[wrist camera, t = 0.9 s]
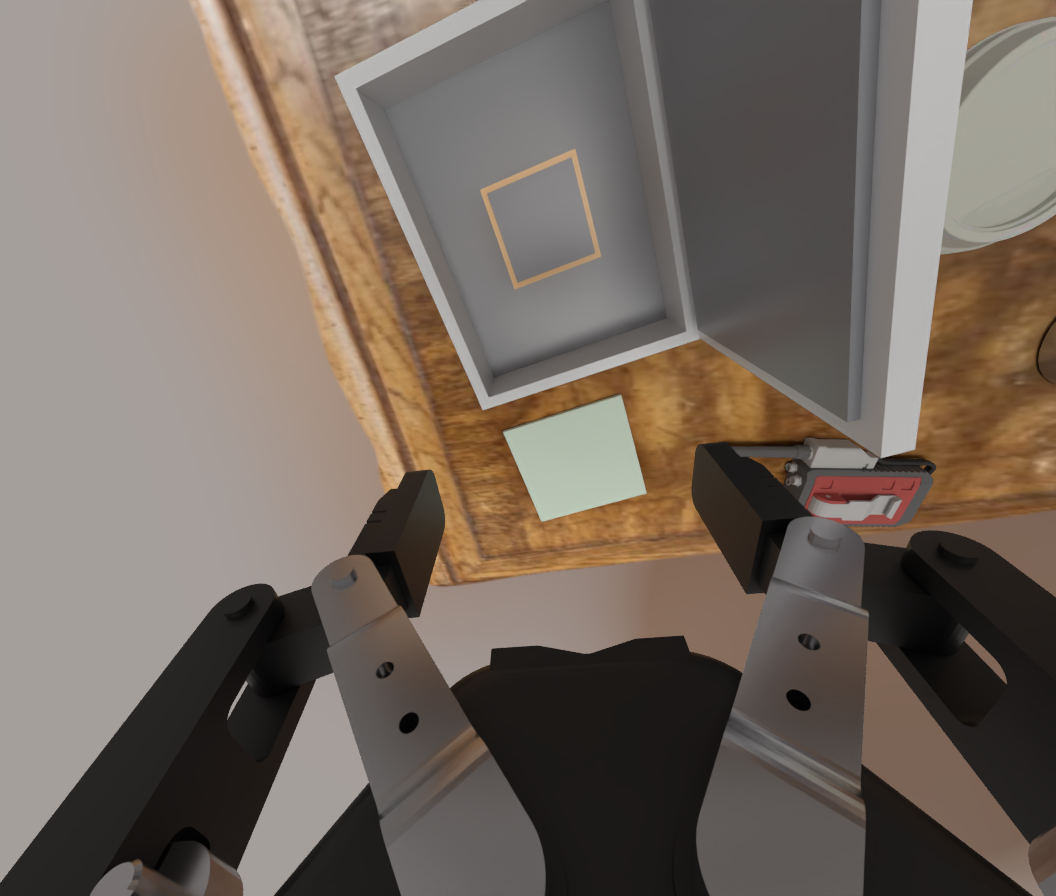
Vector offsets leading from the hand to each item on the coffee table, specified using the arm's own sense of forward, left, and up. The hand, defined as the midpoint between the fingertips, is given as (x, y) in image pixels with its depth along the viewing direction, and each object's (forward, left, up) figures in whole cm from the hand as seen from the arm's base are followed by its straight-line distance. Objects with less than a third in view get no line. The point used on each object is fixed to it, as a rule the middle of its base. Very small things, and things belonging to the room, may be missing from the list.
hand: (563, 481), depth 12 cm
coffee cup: (-22, -3, -23) cm, 32 cm away
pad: (+1, +13, -23) cm, 26 cm away
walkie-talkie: (-20, +22, -23) cm, 38 cm away
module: (-2, -7, -22) cm, 23 cm away
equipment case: (-3, -7, -23) cm, 24 cm away
